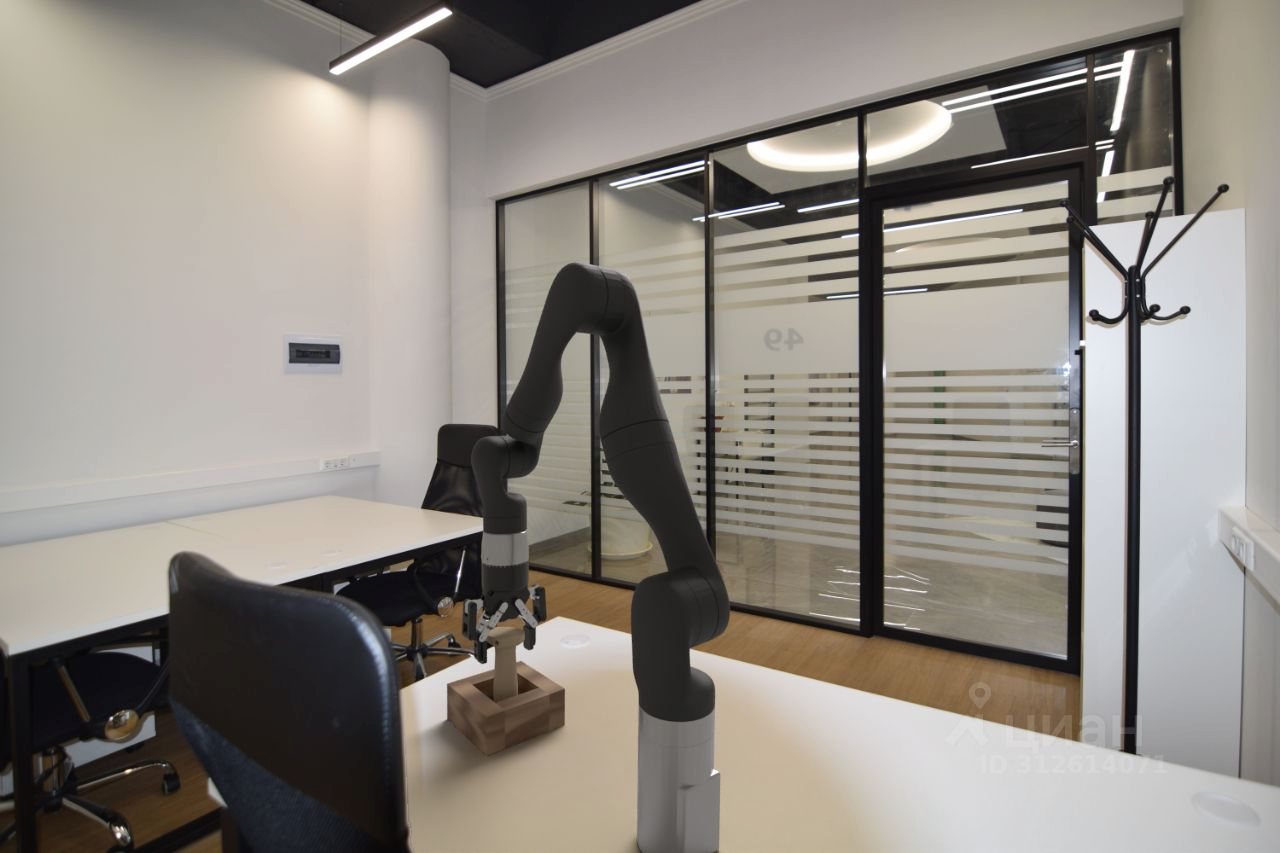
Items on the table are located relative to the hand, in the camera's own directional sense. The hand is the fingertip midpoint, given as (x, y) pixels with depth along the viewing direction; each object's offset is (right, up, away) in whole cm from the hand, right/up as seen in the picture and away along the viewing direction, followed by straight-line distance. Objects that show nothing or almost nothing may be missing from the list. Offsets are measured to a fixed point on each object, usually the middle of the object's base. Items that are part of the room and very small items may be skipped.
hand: (505, 655), depth 103 cm
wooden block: (0, -11, +1) cm, 11 cm away
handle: (0, -11, +1) cm, 11 cm away
